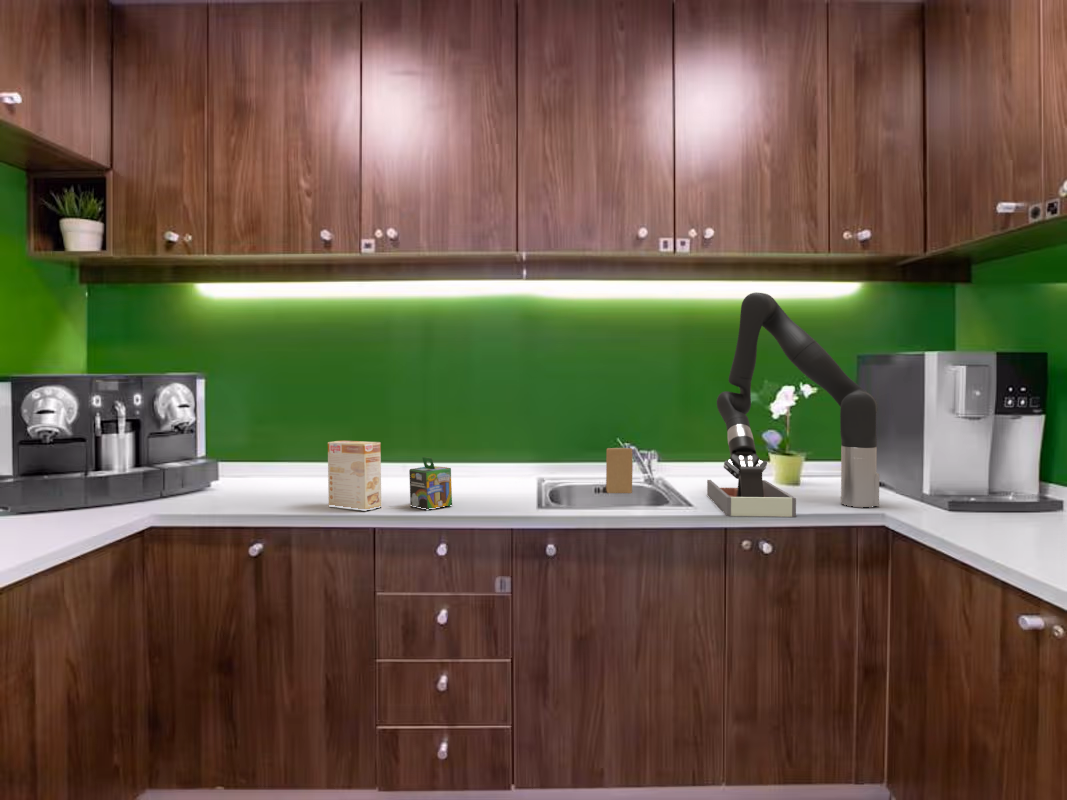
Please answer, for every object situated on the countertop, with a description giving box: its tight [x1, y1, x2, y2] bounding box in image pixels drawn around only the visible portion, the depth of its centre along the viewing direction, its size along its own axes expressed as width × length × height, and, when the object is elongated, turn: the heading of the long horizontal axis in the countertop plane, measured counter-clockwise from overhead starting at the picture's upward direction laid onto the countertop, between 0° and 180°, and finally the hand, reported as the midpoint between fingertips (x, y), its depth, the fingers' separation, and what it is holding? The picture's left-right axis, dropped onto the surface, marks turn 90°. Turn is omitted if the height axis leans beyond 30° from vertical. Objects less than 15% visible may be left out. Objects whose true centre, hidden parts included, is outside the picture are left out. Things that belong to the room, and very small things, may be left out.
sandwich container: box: [605, 447, 634, 494], centre depth 220 cm, size 9×15×15 cm, turn 175°
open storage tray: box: [706, 479, 797, 518], centre depth 190 cm, size 18×32×5 cm, turn 174°
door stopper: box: [737, 465, 764, 497], centre depth 185 cm, size 9×6×12 cm, turn 173°
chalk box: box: [409, 456, 453, 509], centre depth 190 cm, size 9×9×15 cm
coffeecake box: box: [327, 440, 382, 509], centre depth 189 cm, size 15×7×20 cm, turn 59°
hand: (749, 488), depth 187 cm, fingers closed
